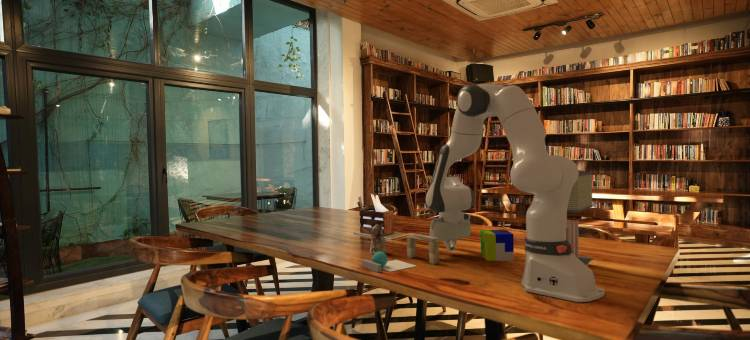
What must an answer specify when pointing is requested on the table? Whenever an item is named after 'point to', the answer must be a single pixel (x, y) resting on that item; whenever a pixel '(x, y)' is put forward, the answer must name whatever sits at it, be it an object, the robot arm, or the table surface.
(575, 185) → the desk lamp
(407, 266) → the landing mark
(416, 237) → the bridge
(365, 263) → the stopper strip
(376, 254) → the ball
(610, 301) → the table surface
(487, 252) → the puzzle toy
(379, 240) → the figurine
